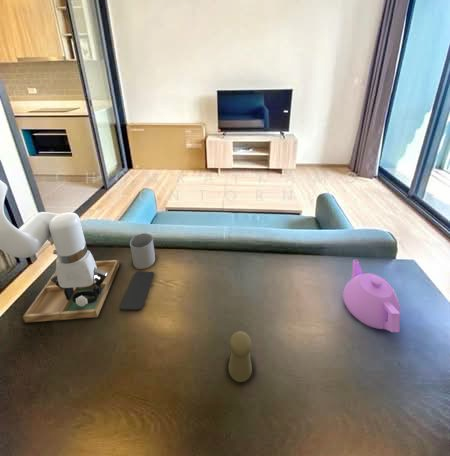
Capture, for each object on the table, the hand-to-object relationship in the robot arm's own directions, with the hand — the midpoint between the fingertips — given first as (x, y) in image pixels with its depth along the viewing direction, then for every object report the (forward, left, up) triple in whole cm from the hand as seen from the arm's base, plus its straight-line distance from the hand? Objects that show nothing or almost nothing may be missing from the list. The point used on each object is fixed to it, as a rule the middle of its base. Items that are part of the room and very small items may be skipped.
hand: (84, 295), depth 81 cm
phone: (+16, +3, -3) cm, 17 cm away
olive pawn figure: (+48, -23, -3) cm, 53 cm away
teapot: (+91, -10, -3) cm, 92 cm away
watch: (0, 0, -3) cm, 3 cm away
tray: (-5, +5, -3) cm, 8 cm away
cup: (+15, +17, -3) cm, 23 cm away
